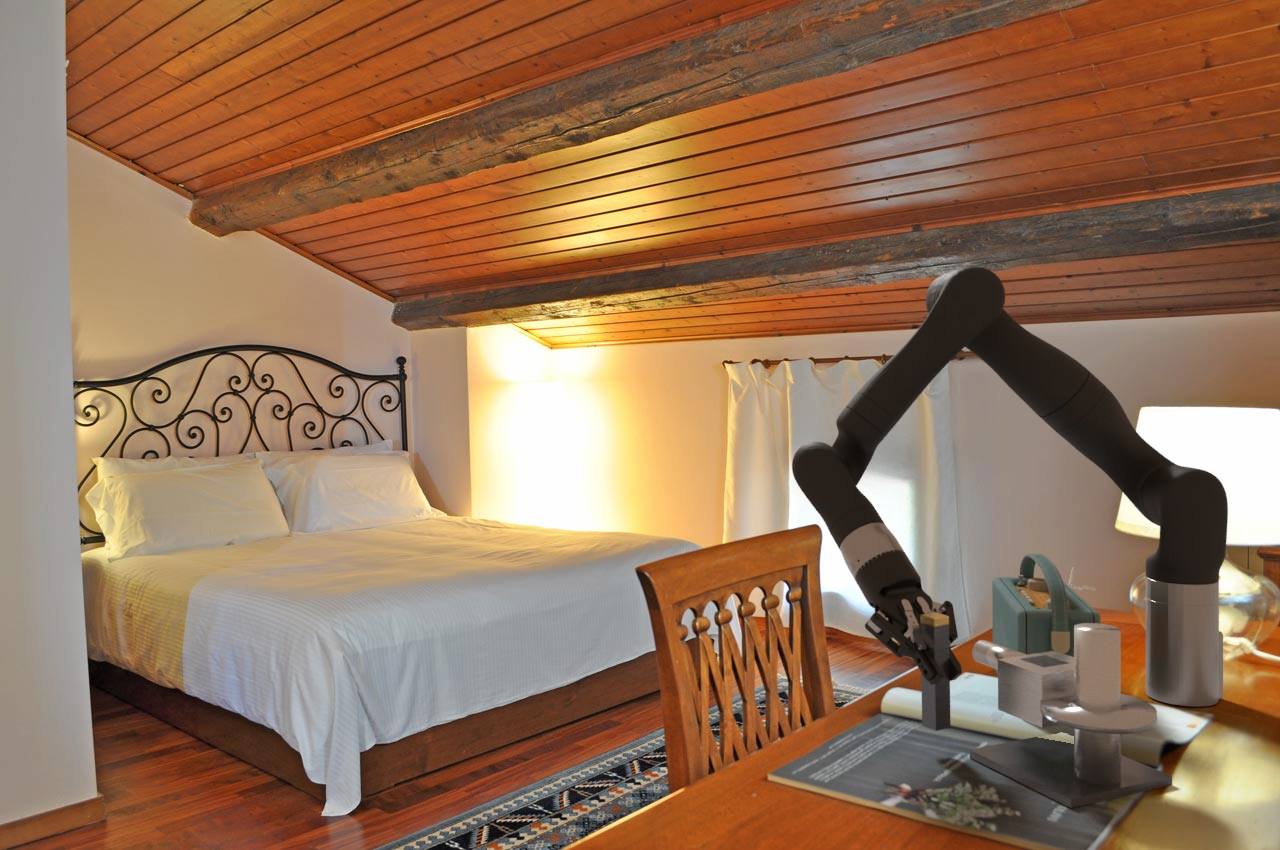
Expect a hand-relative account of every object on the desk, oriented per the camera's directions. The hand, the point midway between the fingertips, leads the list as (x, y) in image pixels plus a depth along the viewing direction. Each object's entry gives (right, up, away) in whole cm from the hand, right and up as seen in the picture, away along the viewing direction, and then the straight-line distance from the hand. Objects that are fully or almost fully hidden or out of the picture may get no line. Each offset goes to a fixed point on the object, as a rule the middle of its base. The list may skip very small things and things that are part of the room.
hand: (947, 678), depth 122 cm
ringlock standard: (+12, -10, -3) cm, 16 cm away
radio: (+22, -9, +24) cm, 33 cm away
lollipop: (+41, -7, +60) cm, 72 cm away
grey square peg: (-1, -6, +2) cm, 7 cm away
